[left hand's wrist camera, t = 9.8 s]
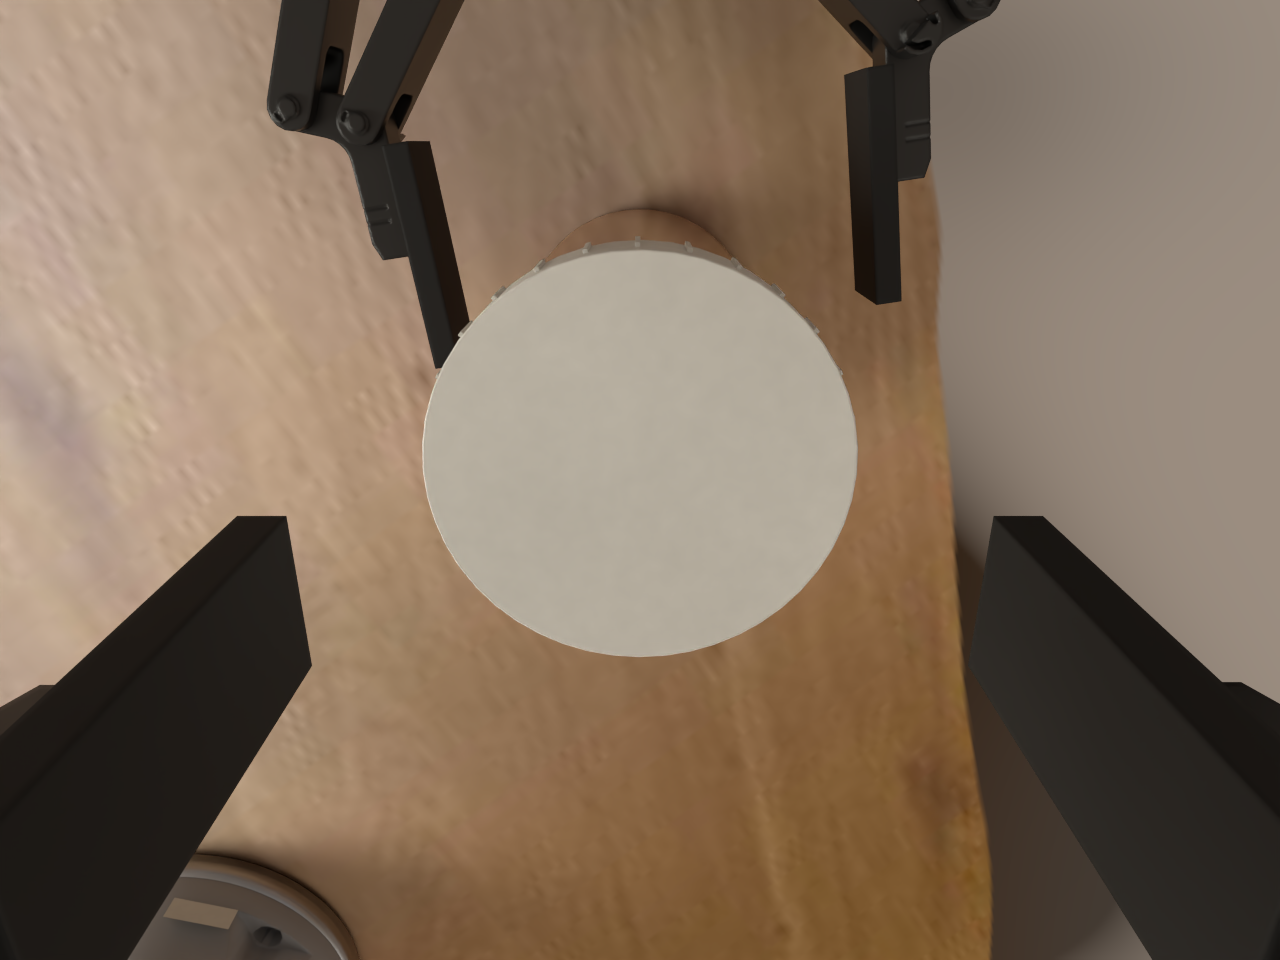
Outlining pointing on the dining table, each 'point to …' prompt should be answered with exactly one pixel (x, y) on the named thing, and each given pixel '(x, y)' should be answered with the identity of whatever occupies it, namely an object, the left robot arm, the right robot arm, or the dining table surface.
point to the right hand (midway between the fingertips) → (664, 328)
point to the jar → (639, 232)
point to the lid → (640, 449)
